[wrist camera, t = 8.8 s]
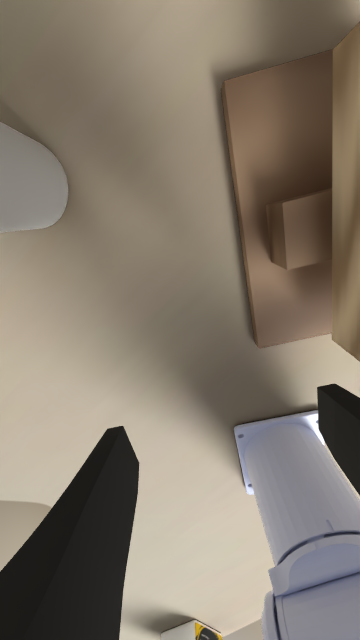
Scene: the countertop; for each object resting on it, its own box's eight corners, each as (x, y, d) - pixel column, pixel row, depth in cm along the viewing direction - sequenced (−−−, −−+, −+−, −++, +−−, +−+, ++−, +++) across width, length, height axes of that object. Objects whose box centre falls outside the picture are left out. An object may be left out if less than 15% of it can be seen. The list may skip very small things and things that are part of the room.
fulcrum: (412, 308, 19) (461, 327, 16) (254, 342, 20) (270, 367, 16) (451, 23, 13) (545, -42, 10) (220, 89, 14) (235, 50, 10)
